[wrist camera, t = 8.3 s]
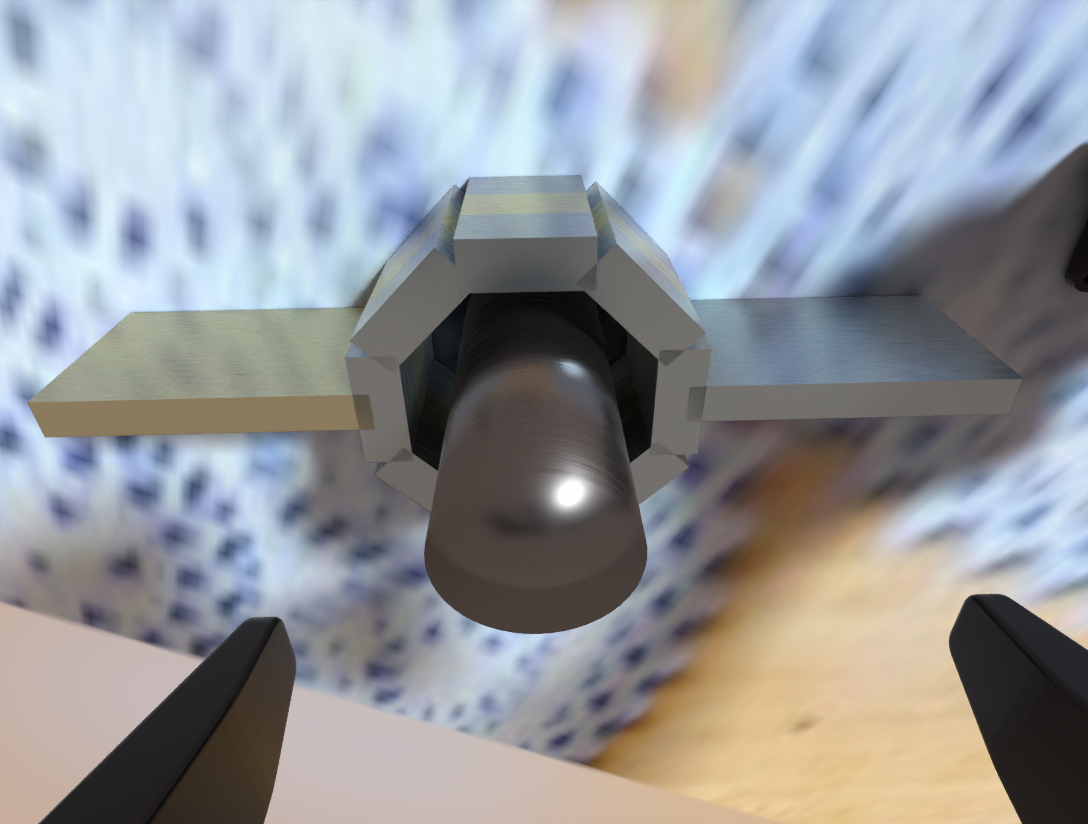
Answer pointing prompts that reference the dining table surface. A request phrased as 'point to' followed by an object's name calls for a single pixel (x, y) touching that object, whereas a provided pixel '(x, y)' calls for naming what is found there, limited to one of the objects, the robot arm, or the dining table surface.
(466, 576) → the hinge pin
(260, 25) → the dining table surface
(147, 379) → the hinge
